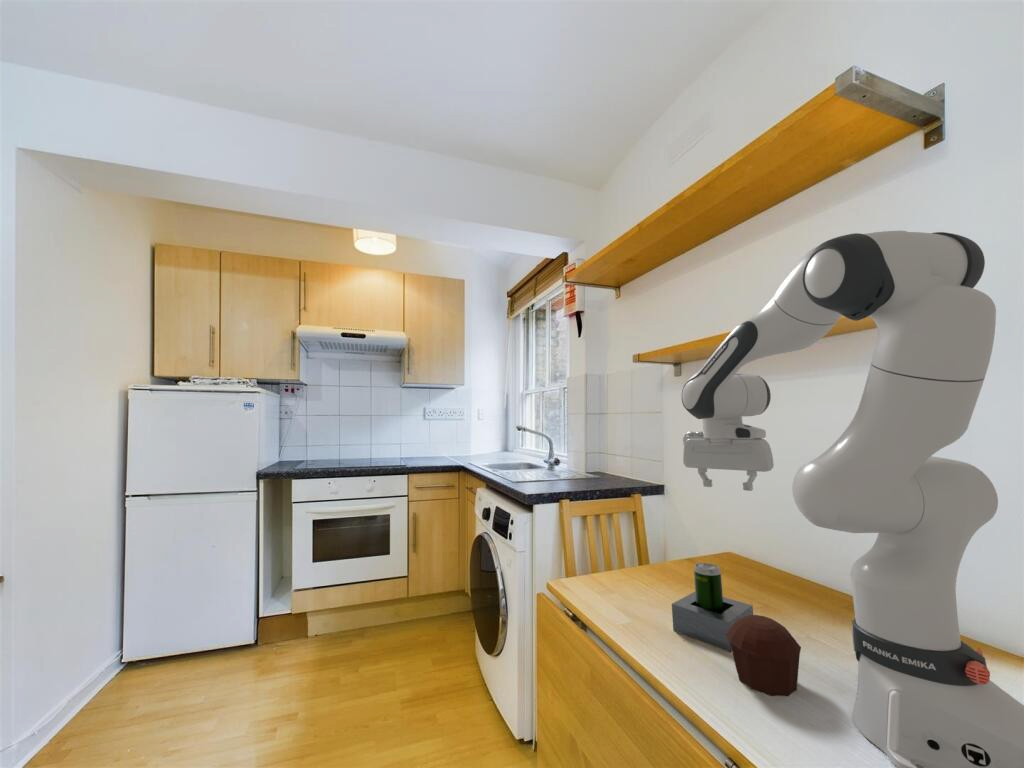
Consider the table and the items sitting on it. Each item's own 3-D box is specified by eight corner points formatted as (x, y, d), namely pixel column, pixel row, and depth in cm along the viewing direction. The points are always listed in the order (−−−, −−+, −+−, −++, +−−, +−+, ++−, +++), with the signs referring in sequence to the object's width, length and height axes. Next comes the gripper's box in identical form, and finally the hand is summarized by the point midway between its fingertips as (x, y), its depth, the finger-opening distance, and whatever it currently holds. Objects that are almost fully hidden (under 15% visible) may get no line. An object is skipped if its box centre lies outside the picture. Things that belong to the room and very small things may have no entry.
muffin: (737, 655, 80) (732, 601, 81) (807, 676, 73) (801, 616, 74) (722, 685, 70) (718, 624, 72) (801, 712, 64) (794, 643, 65)
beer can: (720, 632, 86) (716, 572, 87) (694, 625, 89) (690, 567, 91) (728, 623, 90) (723, 565, 91) (702, 616, 93) (698, 561, 95)
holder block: (754, 632, 88) (752, 605, 89) (730, 652, 81) (728, 622, 82) (699, 614, 98) (698, 589, 98) (673, 630, 90) (671, 603, 91)
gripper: (676, 432, 108) (680, 486, 106) (762, 430, 92) (768, 494, 90) (688, 431, 112) (692, 483, 110) (773, 430, 96) (778, 491, 94)
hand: (727, 488), depth 100 cm, fingers open, 8 cm apart
